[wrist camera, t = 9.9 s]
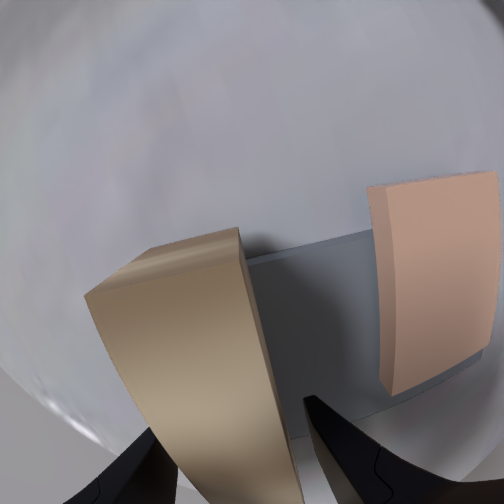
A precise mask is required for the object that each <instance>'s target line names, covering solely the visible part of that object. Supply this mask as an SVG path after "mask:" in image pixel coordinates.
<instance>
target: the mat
mask: <svg viewBox="0 0 504 504" xmlns="http://www.w3.org/2000/svg"><path fill="white" fill-rule="evenodd" d="M246 263H247V267H248V271H249V275H250V279H251V284H252V288H253V292H254V296H255V300H256V304H257V308H258V313H259V317H260V321H261V325H262V329H263V333H264V337H265V341H266V345H267V349H268V353H269V358H270V362H271V366H272V370H273V374H274V378H275V382H276V386H277V390H278V394H279V398H280V402H281V406H282V410H283V414H284V418H285V422H286V426H287V429H288V433H289V437H290V440H291V439H295V438H299V437H303V436H307V435H311V434H310V431H309V427H308V423H307V419H306V415H305V410H304V405H303V398H304V397H306V396H310V395H316V396H317V397H319V398H320V399H321V400H322V401H323V402H325V403H326V404H327V405H328V406H330V407H331V408H332V409H334V410H335V411H336V412H337V413H339V414H340V415H341V416H343V417H344V418H345V419H346V420H348V421H349V422H350V423H351V422H354V421H357V420H359V419H362V418H365V417H367V416H370V415H373V414H375V413H378V412H380V411H383V410H385V409H388V408H390V407H392V406H395V405H397V404H399V403H401V402H404V401H406V400H408V399H410V398H412V397H414V396H416V395H418V394H420V393H422V392H424V391H426V390H428V389H430V388H432V387H434V386H436V385H438V384H440V383H441V382H443V381H445V380H447V379H449V378H450V377H452V376H454V375H455V374H457V373H459V372H460V371H462V370H464V369H465V368H467V367H469V366H470V365H472V364H473V363H475V362H476V361H478V360H479V359H481V354H482V350H483V349H481V350H480V351H478V352H476V353H475V354H473V355H472V356H470V357H468V358H467V359H465V360H463V361H462V362H460V363H458V364H457V365H455V366H453V367H451V368H449V369H448V370H446V371H444V372H442V373H440V374H438V375H437V376H435V377H433V378H431V379H429V380H427V381H425V382H423V383H421V384H418V385H416V386H414V387H412V388H410V389H408V390H406V391H403V392H401V393H399V394H396V395H394V396H392V397H391V395H390V394H389V392H388V391H387V389H386V388H385V387H384V385H383V384H382V382H381V381H380V380H379V368H380V312H379V290H378V275H377V263H376V253H375V243H374V235H373V229H371V230H367V231H363V232H359V233H354V234H350V235H346V236H342V237H338V238H334V239H329V240H325V241H321V242H317V243H313V244H308V245H304V246H300V247H296V248H292V249H287V250H283V251H279V252H275V253H270V254H266V255H262V256H258V257H253V258H249V259H246Z"/></svg>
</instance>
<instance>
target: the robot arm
mask: <svg viewBox="0 0 504 504" xmlns="http://www.w3.org/2000/svg"><path fill="white" fill-rule="evenodd" d="M303 405H304V410H305V415H306V419H307V423H308V427H309V431H310V434H311V438H312V442H313V445H314V449H315V452H316V455H317V458H318V460H319V463H320V465H321V467H322V469H323V472H324V474H325V476H326V478H327V481H328V483H329V485H330V487H331V489H332V492H333V494H334V496H335V498H336V500H337V503H338V504H504V479H497V480H488V481H477V482H456V481H451V480H448V479H445V478H443V477H440V476H438V475H435V474H433V473H431V472H428V471H426V470H424V469H422V468H419V467H417V466H415V465H413V464H411V463H409V462H407V461H405V460H403V459H401V458H400V457H398V456H397V455H395V454H393V453H392V452H390V451H389V450H387V449H386V448H385V447H383V446H381V445H380V444H379V443H377V442H376V441H375V440H373V439H372V438H370V437H369V436H368V435H366V434H365V433H364V432H362V431H361V430H360V429H358V428H357V427H356V426H354V425H353V424H352V423H350V422H349V421H348V420H346V419H345V418H344V417H343V416H341V415H340V414H339V413H337V412H336V411H335V410H334V409H332V408H331V407H330V406H328V405H327V404H326V403H325V402H323V401H322V400H321V399H320V398H319V397H317V396H316V395H310V396H306V397H304V398H303ZM177 478H178V466H177V465H176V463H175V462H174V461H173V459H172V458H171V457H170V455H169V454H168V453H167V451H166V450H165V449H164V447H163V446H162V444H161V443H160V442H159V440H158V439H157V437H156V436H155V434H154V433H153V431H152V430H151V428H150V427H148V428H147V429H146V430H145V431H144V432H143V433H142V434H141V435H140V436H139V437H138V438H137V439H136V440H135V441H134V442H133V443H132V444H131V445H130V446H129V447H128V448H127V449H126V450H125V451H124V452H123V453H122V454H121V455H120V456H119V457H118V458H117V459H116V460H114V462H112V463H111V464H110V466H108V467H107V468H106V469H105V470H104V471H103V472H102V473H101V474H100V475H99V476H98V477H96V478H95V479H94V480H93V481H92V482H91V483H90V484H88V485H87V486H86V487H85V488H84V489H83V490H81V491H80V492H79V493H77V494H76V495H75V496H73V497H72V498H70V499H69V500H68V501H66V502H65V503H63V504H175V497H176V487H177Z"/></svg>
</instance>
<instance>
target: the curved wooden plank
mask: <svg viewBox="0 0 504 504" xmlns="http://www.w3.org/2000/svg"><path fill="white" fill-rule="evenodd" d="M84 297H85V300H86V303H87V305H88V308H89V311H90V313H91V316H92V318H93V320H94V323H95V325H96V328H97V330H98V332H99V335H100V337H101V339H102V341H103V343H104V346H105V348H106V350H107V352H108V354H109V356H110V358H111V360H112V362H113V364H114V366H115V368H116V370H117V372H118V374H119V376H120V378H121V380H122V382H123V383H124V385H125V387H126V389H127V391H128V392H129V394H130V396H131V398H132V399H133V401H134V403H135V404H136V406H137V408H138V409H139V411H140V413H141V414H142V416H143V417H144V419H145V421H146V422H147V424H148V425H149V427H150V428H151V430H152V431H153V433H154V434H155V436H156V437H157V439H158V440H159V442H160V443H161V444H162V446H163V447H164V449H165V450H166V451H167V453H168V454H169V455H170V457H171V458H172V459H173V461H174V462H175V463H176V465H177V466H178V467H179V469H180V470H181V471H182V472H183V474H184V475H185V476H186V477H187V478H188V480H189V481H190V482H191V483H192V484H193V486H194V487H195V488H196V489H197V490H198V491H199V492H200V494H201V495H202V496H203V497H204V498H205V499H206V500H207V501H208V502H209V503H210V504H305V502H304V497H303V493H302V488H301V484H300V479H299V475H298V470H297V466H296V461H295V457H294V453H293V449H292V445H291V441H290V437H289V433H288V429H287V426H286V422H285V418H284V414H283V410H282V406H281V402H280V398H279V394H278V390H277V386H276V382H275V378H274V374H273V370H272V366H271V362H270V358H269V353H268V349H267V345H266V341H265V337H264V333H263V329H262V325H261V321H260V317H259V313H258V308H257V304H256V300H255V296H254V292H253V288H252V284H251V279H250V275H249V271H248V267H247V263H246V259H245V254H244V250H243V246H242V242H241V238H240V233H239V229H238V227H235V228H231V229H226V230H222V231H218V232H214V233H210V234H206V235H201V236H197V237H193V238H189V239H185V240H181V241H177V242H173V243H169V244H166V245H162V246H158V247H154V248H150V249H149V250H147V251H146V252H144V253H143V254H141V255H140V256H138V257H137V258H136V259H134V260H133V261H131V262H130V263H128V264H127V265H125V266H124V267H123V268H121V269H120V270H118V271H117V272H116V273H114V274H113V275H111V276H110V277H109V278H107V279H106V280H104V281H103V282H102V283H100V284H99V285H97V286H96V287H95V288H93V289H92V290H91V291H89V292H88V293H87V294H85V295H84Z"/></svg>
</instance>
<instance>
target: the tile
mask: <svg viewBox="0 0 504 504" xmlns="http://www.w3.org/2000/svg"><path fill="white" fill-rule="evenodd" d="M366 188H367V194H368V200H369V206H370V213H371V220H372V227H373V235H374V243H375V253H376V263H377V275H378V290H379V312H380V368H379V380H380V381H381V382H382V384H383V385H384V387H385V388H386V389H387V391H388V392H389V394H390V395H391V397H392V396H394V395H396V394H399V393H401V392H403V391H406V390H408V389H410V388H412V387H414V386H416V385H418V384H421V383H423V382H425V381H427V380H429V379H431V378H433V377H435V376H437V375H438V374H440V373H442V372H444V371H446V370H448V369H449V368H451V367H453V366H455V365H457V364H458V363H460V362H462V361H463V360H465V359H467V358H468V357H470V356H472V355H473V354H475V353H476V352H478V351H480V350H481V349H483V348H484V347H486V346H487V345H489V343H490V338H491V333H492V328H493V323H494V317H495V311H496V304H497V297H498V288H499V277H500V263H501V209H500V195H499V184H498V176H497V171H474V172H466V173H458V174H450V175H442V176H435V177H428V178H421V179H414V180H407V181H401V182H395V183H388V184H382V185H376V186H370V187H366Z"/></svg>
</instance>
